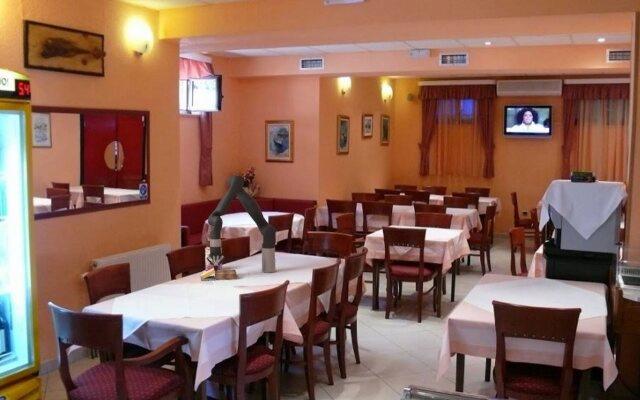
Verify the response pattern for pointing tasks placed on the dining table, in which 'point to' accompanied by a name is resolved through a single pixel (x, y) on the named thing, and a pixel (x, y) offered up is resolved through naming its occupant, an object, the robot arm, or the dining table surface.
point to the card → (208, 273)
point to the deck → (225, 275)
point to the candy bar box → (207, 263)
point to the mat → (208, 278)
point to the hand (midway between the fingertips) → (215, 270)
